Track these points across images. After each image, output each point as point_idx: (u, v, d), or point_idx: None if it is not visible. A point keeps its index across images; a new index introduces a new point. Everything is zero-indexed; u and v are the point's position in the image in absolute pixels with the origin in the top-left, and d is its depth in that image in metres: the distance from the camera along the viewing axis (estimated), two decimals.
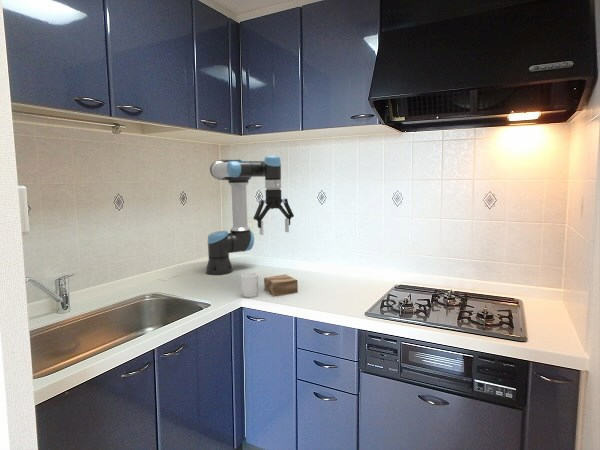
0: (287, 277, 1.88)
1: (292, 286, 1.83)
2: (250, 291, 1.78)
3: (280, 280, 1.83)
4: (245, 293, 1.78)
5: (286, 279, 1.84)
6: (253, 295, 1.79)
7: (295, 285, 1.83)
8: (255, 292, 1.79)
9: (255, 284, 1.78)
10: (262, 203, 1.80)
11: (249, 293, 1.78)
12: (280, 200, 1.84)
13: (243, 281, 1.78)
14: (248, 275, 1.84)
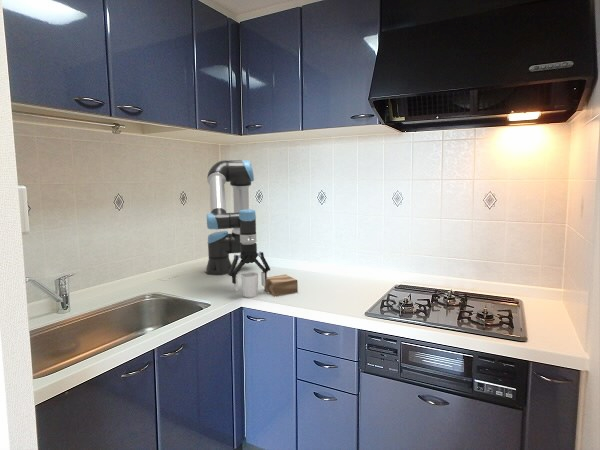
0: (287, 277, 1.88)
1: (292, 286, 1.83)
2: (250, 291, 1.78)
3: (280, 280, 1.83)
4: (245, 293, 1.78)
5: (286, 279, 1.84)
6: (253, 295, 1.79)
7: (295, 285, 1.83)
8: (255, 292, 1.79)
9: (255, 284, 1.78)
10: (236, 258, 1.75)
11: (249, 293, 1.78)
12: (255, 254, 1.79)
13: (243, 281, 1.78)
14: (248, 275, 1.84)
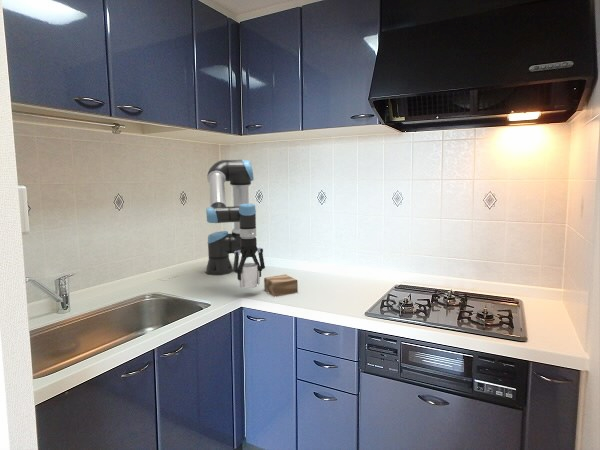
0: (287, 277, 1.88)
1: (292, 286, 1.83)
2: (249, 282, 1.78)
3: (280, 280, 1.83)
4: (244, 283, 1.78)
5: (286, 279, 1.84)
6: (252, 286, 1.79)
7: (295, 285, 1.83)
8: (254, 283, 1.79)
9: (254, 275, 1.78)
10: (237, 255, 1.75)
11: (248, 283, 1.78)
12: (255, 248, 1.79)
13: (242, 271, 1.78)
14: (247, 265, 1.84)
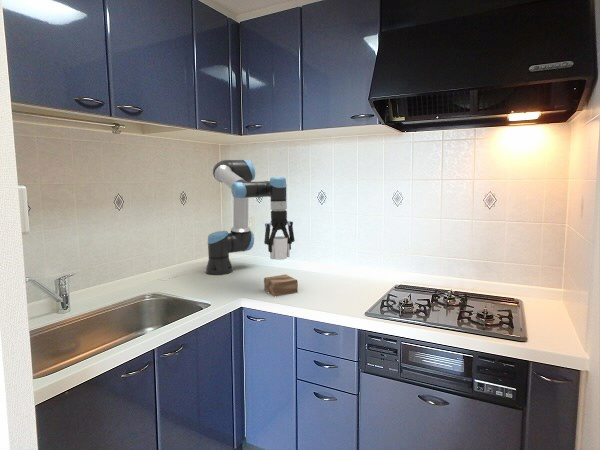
0: (287, 277, 1.88)
1: (292, 286, 1.83)
2: (280, 253, 1.81)
3: (280, 280, 1.83)
4: (275, 255, 1.82)
5: (286, 279, 1.84)
6: (283, 257, 1.82)
7: (295, 285, 1.83)
8: (285, 255, 1.83)
9: (285, 247, 1.82)
10: (268, 227, 1.79)
11: (279, 255, 1.81)
12: (286, 221, 1.83)
13: (273, 244, 1.81)
14: (277, 239, 1.87)
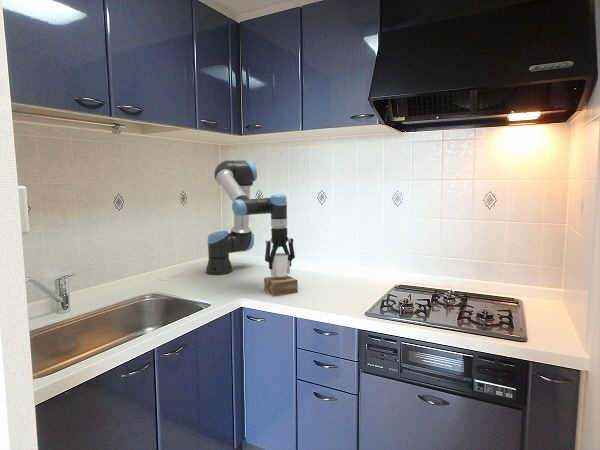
0: (287, 277, 1.88)
1: (292, 286, 1.83)
2: (281, 270, 1.82)
3: (280, 280, 1.83)
4: (276, 272, 1.83)
5: (286, 279, 1.84)
6: (283, 274, 1.83)
7: (295, 285, 1.83)
8: (285, 272, 1.84)
9: (285, 264, 1.83)
10: (269, 244, 1.80)
11: (280, 272, 1.82)
12: (286, 238, 1.84)
13: (274, 261, 1.82)
14: (278, 255, 1.88)
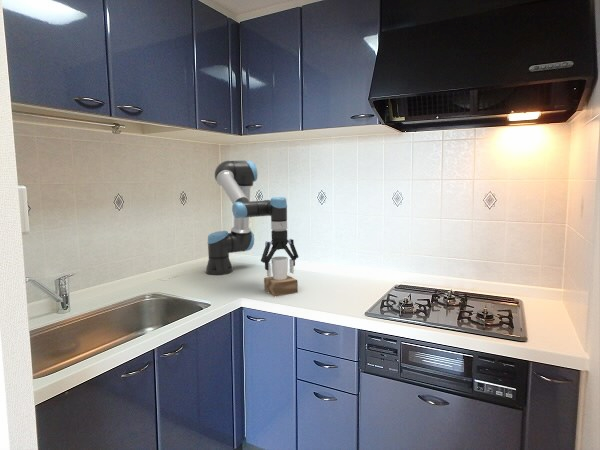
0: (287, 277, 1.88)
1: (292, 286, 1.83)
2: (280, 274, 1.82)
3: (280, 280, 1.83)
4: (275, 276, 1.83)
5: (286, 279, 1.84)
6: (283, 278, 1.83)
7: (295, 285, 1.83)
8: (285, 275, 1.84)
9: (285, 267, 1.83)
10: (268, 245, 1.80)
11: (279, 276, 1.83)
12: (286, 241, 1.84)
13: (274, 264, 1.82)
14: (278, 259, 1.89)
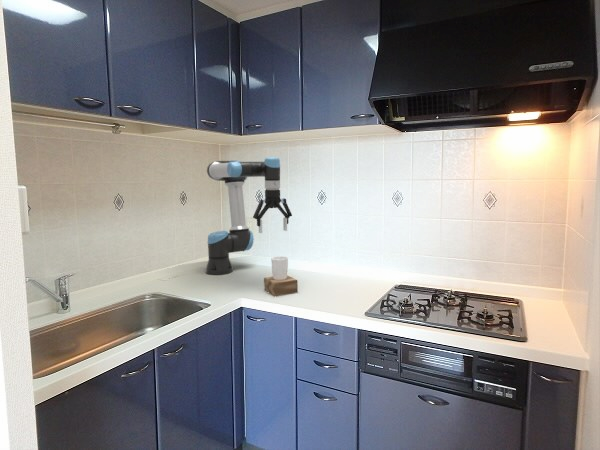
0: (287, 277, 1.88)
1: (292, 286, 1.83)
2: (280, 274, 1.82)
3: (280, 280, 1.83)
4: (275, 276, 1.83)
5: (286, 279, 1.84)
6: (283, 278, 1.83)
7: (295, 285, 1.83)
8: (285, 275, 1.84)
9: (285, 267, 1.83)
10: (261, 203, 1.88)
11: (279, 276, 1.83)
12: (279, 200, 1.92)
13: (274, 264, 1.82)
14: (278, 259, 1.88)
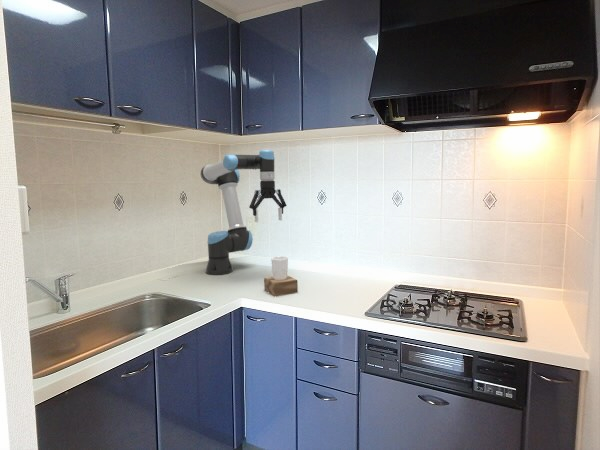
0: (287, 277, 1.88)
1: (292, 286, 1.83)
2: (280, 274, 1.82)
3: (280, 280, 1.83)
4: (275, 276, 1.83)
5: (286, 279, 1.84)
6: (283, 278, 1.83)
7: (295, 285, 1.83)
8: (285, 275, 1.84)
9: (285, 267, 1.83)
10: (257, 193, 1.97)
11: (279, 276, 1.83)
12: (274, 190, 2.01)
13: (274, 264, 1.82)
14: (278, 259, 1.88)
